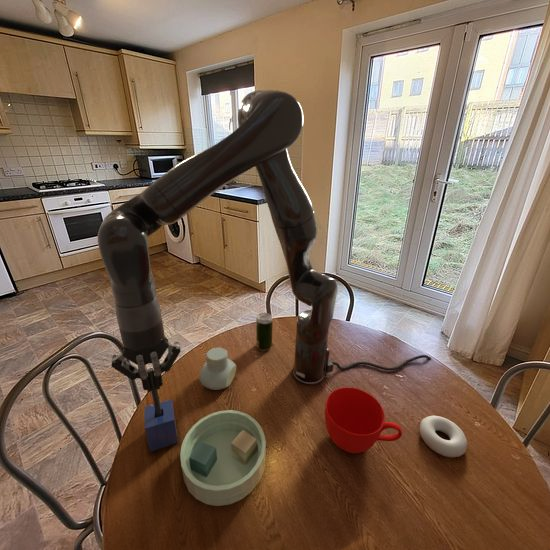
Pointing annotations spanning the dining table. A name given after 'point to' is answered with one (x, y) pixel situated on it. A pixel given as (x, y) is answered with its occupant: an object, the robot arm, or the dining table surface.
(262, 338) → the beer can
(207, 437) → the bowl
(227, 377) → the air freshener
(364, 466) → the dining table surface
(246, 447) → the cream block
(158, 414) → the stick
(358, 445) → the ceramic cup
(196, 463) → the teal block
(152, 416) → the holder
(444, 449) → the donut
